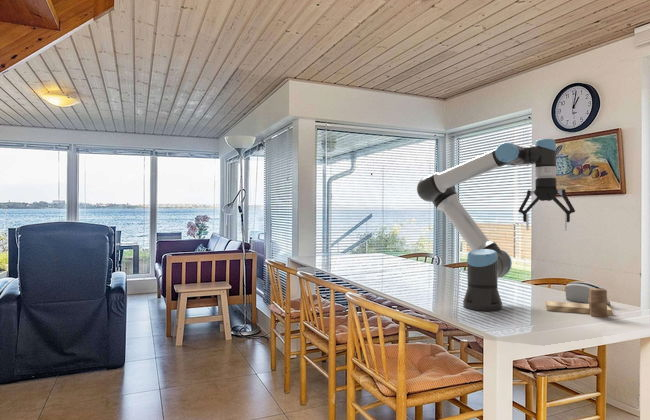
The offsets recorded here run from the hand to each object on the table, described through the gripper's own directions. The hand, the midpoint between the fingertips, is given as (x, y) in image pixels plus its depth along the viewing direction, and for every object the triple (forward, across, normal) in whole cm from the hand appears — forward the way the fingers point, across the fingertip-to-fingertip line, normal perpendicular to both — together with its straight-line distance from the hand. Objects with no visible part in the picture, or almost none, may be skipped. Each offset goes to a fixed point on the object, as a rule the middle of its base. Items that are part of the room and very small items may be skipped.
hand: (546, 230), depth 173 cm
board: (+32, +11, +2) cm, 34 cm away
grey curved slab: (+32, +17, +20) cm, 41 cm away
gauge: (+32, +17, +1) cm, 36 cm away
